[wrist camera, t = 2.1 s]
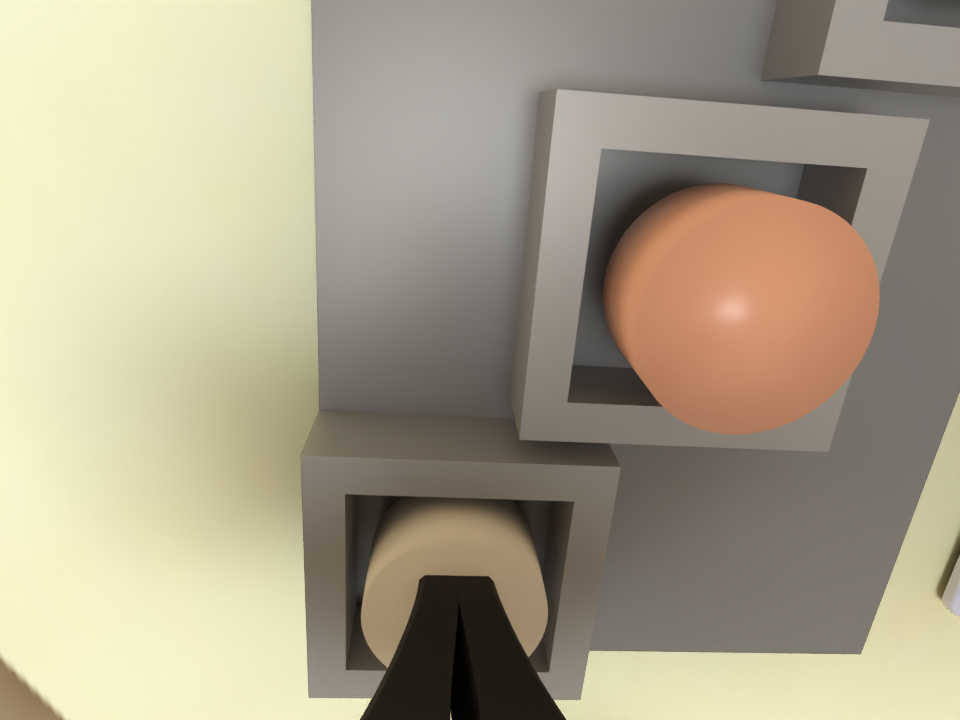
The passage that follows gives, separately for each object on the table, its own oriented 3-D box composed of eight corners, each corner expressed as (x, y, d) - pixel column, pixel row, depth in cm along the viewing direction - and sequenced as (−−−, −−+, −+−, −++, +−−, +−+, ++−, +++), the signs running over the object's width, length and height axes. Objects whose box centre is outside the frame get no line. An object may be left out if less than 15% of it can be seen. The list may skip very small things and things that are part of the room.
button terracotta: (830, 191, 11) (913, 207, 9) (778, 388, 12) (839, 439, 10) (618, 175, 10) (657, 189, 8) (589, 379, 12) (616, 429, 10)
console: (1110, -278, 11) (1417, -458, 8) (819, 600, 19) (909, 717, 15) (326, -385, 10) (264, -649, 7) (336, 590, 18) (309, 714, 14)
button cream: (542, 483, 14) (558, 543, 12) (526, 616, 15) (537, 688, 13) (372, 478, 13) (361, 538, 11) (370, 614, 15) (360, 687, 13)
